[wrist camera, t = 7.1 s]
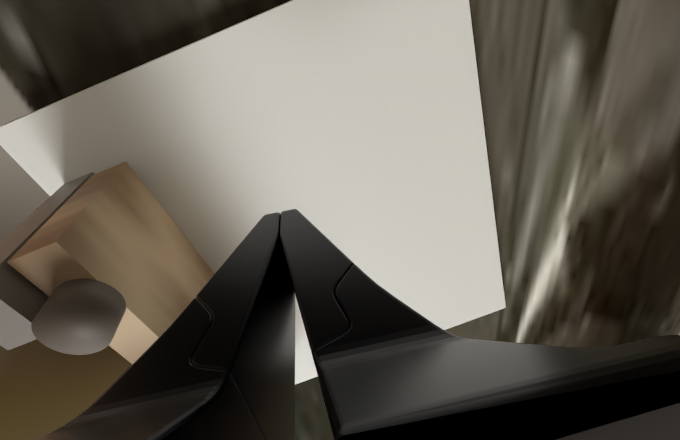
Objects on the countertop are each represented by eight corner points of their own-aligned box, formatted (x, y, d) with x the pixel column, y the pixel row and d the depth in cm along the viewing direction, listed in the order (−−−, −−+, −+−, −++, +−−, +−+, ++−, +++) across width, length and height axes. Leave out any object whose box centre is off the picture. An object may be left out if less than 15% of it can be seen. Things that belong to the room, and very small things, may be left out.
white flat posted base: (498, 298, 22) (578, 406, 17) (250, 389, 23) (243, 521, 18) (449, -69, 12) (620, -126, 6) (2, 125, 13) (-222, 235, 7)
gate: (293, 368, 21) (299, 487, 16) (265, 379, 21) (262, 500, 16) (130, 159, 13) (41, 264, 8) (86, 177, 13) (-29, 293, 8)
